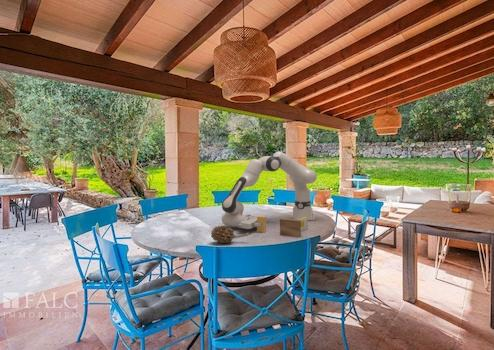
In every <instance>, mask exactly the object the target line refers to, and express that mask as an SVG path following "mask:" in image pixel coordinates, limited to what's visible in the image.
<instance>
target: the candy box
mask: <svg viewBox="0 0 494 350" xmlns="http://www.w3.org/2000/svg"><path fill="white" fill-rule="evenodd" d="M299 220H301V233H302V232H304V231H306V230H308V226H309V224H308V220H307V217H304V218H302V219H299Z"/></svg>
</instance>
